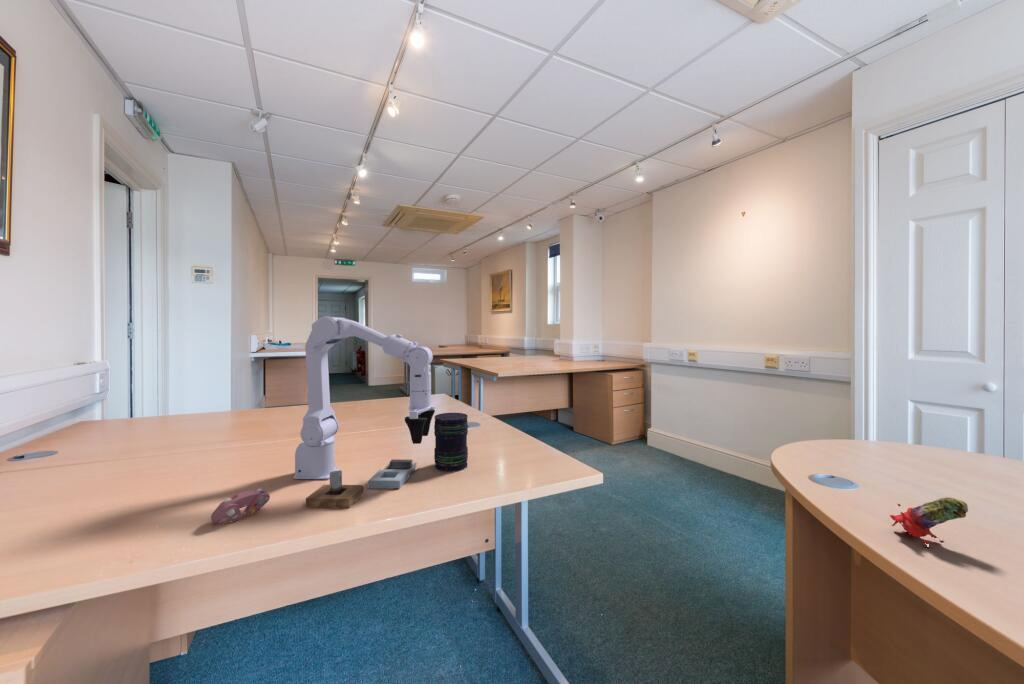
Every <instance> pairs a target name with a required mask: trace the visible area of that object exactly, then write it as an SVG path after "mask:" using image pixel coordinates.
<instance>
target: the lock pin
mask: <svg viewBox="0 0 1024 684" xmlns="http://www.w3.org/2000/svg"><path fill="white" fill-rule="evenodd" d="M329 485H330V495H341V494H342V485H343V471H342V470H339V471H333V472H331V473H330V478H329Z"/></svg>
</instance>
